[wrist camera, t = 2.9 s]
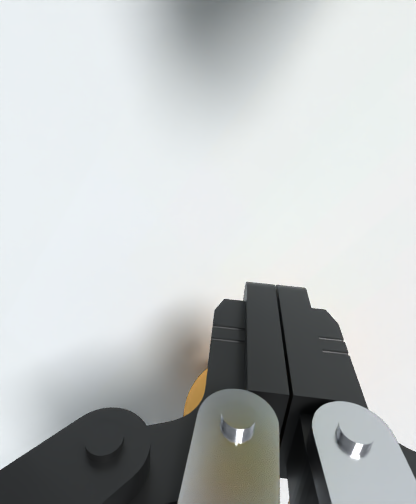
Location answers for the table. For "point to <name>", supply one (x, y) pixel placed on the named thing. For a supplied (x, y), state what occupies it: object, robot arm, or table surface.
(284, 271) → the table surface
